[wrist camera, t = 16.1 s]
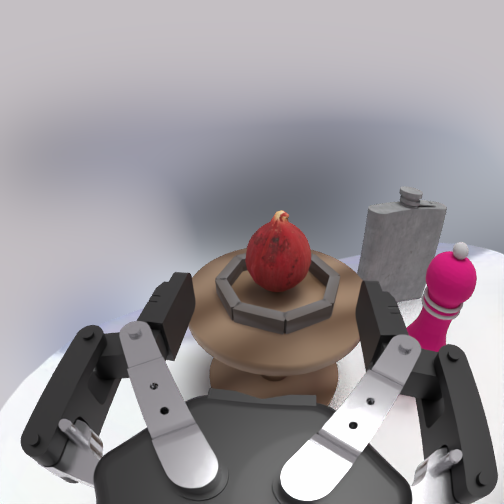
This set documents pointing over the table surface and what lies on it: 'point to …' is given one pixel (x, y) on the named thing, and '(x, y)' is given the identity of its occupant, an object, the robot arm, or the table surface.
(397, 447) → the table surface
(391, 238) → the hip flask
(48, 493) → the table surface
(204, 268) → the ring stand
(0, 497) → the table surface
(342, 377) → the table surface
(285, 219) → the onion
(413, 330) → the pepper mill
